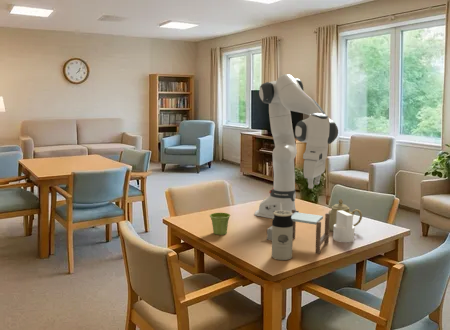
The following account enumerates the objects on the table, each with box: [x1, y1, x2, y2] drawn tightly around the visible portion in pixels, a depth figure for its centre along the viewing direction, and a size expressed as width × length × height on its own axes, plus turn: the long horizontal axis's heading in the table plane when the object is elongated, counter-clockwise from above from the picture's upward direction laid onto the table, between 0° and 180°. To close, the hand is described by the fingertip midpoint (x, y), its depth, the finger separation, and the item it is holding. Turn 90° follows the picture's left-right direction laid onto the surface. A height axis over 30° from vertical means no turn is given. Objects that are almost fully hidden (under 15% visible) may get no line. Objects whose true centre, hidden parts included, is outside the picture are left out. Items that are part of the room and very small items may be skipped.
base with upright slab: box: [332, 210, 356, 243], centre depth 200 cm, size 9×9×12 cm
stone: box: [266, 225, 272, 241], centre depth 200 cm, size 5×5×5 cm
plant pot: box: [209, 212, 231, 236], centre depth 208 cm, size 9×9×9 cm
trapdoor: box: [291, 212, 324, 226], centre depth 191 cm, size 15×11×2 cm
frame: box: [292, 209, 330, 255], centre depth 191 cm, size 16×16×13 cm
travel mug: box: [271, 210, 294, 261], centre depth 177 cm, size 8×8×18 cm
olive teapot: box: [328, 198, 363, 232], centre depth 214 cm, size 15×11×15 cm
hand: (313, 186), depth 187 cm, fingers open, 8 cm apart
